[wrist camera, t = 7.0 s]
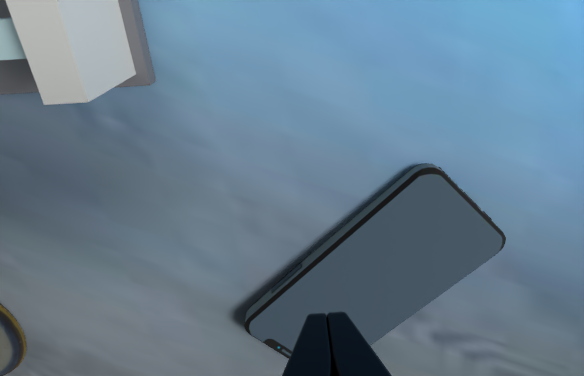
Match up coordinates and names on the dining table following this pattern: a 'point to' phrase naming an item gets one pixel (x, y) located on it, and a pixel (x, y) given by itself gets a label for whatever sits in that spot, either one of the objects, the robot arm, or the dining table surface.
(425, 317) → the dining table surface
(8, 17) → the grey piece
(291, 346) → the smartphone
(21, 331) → the apothecary jar
